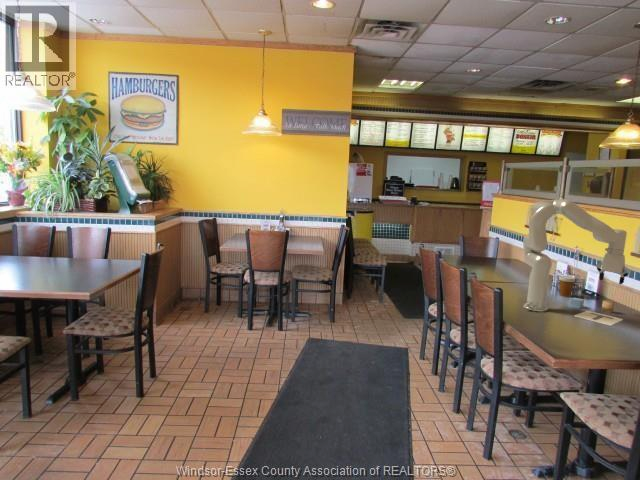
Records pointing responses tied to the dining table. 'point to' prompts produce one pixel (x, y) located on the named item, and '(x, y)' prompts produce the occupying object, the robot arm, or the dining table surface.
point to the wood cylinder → (608, 306)
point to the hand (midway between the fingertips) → (610, 282)
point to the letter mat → (598, 317)
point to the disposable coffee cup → (566, 285)
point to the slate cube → (577, 302)
